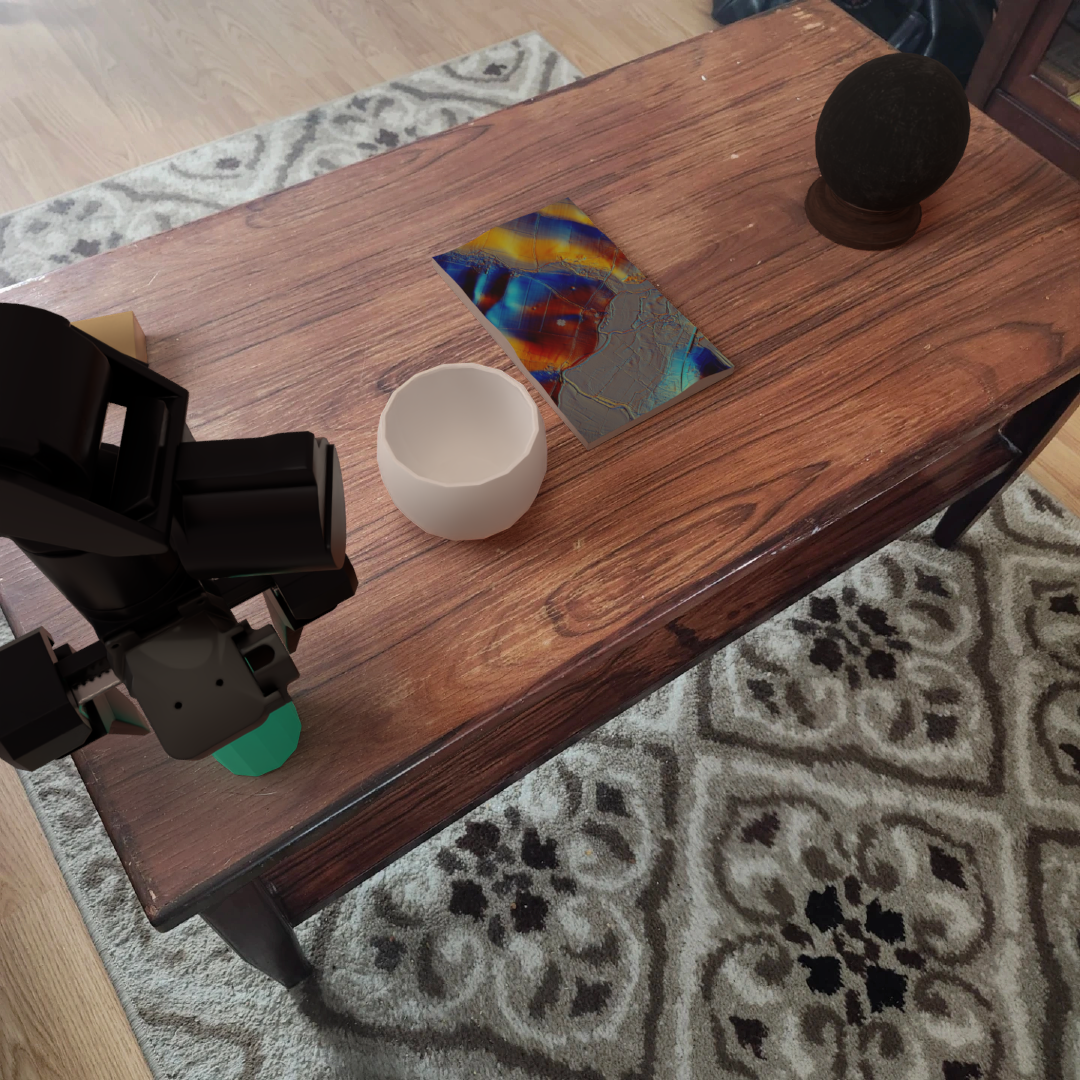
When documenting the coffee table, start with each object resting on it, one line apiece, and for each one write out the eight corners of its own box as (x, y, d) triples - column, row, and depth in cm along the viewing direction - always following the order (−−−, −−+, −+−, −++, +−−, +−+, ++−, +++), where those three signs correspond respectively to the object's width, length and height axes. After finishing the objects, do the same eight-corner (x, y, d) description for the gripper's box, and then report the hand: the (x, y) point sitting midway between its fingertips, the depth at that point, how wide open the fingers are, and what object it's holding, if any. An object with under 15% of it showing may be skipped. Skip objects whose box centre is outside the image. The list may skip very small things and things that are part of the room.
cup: (495, 593, 67) (490, 524, 59) (358, 524, 70) (335, 448, 62) (573, 475, 73) (579, 396, 64) (443, 415, 76) (433, 332, 67)
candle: (195, 727, 62) (128, 655, 51) (271, 675, 64) (222, 595, 53) (240, 795, 59) (180, 734, 49) (318, 738, 61) (276, 668, 51)
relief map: (732, 373, 78) (737, 357, 77) (587, 450, 74) (589, 435, 72) (567, 208, 89) (568, 191, 88) (432, 267, 85) (430, 250, 83)
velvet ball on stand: (931, 180, 92) (996, 33, 79) (927, 268, 85) (997, 123, 73) (801, 159, 94) (844, 11, 81) (787, 244, 87) (831, 97, 74)
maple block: (62, 351, 79) (47, 326, 76) (145, 335, 80) (132, 310, 78) (64, 411, 76) (47, 387, 73) (150, 393, 77) (137, 369, 74)
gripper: (-42, 822, 35) (116, 896, 48) (388, 585, 40) (422, 711, 54) (-115, 605, 39) (47, 728, 53) (279, 420, 45) (335, 573, 58)
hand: (219, 686), depth 54 cm, fingers open, 9 cm apart
